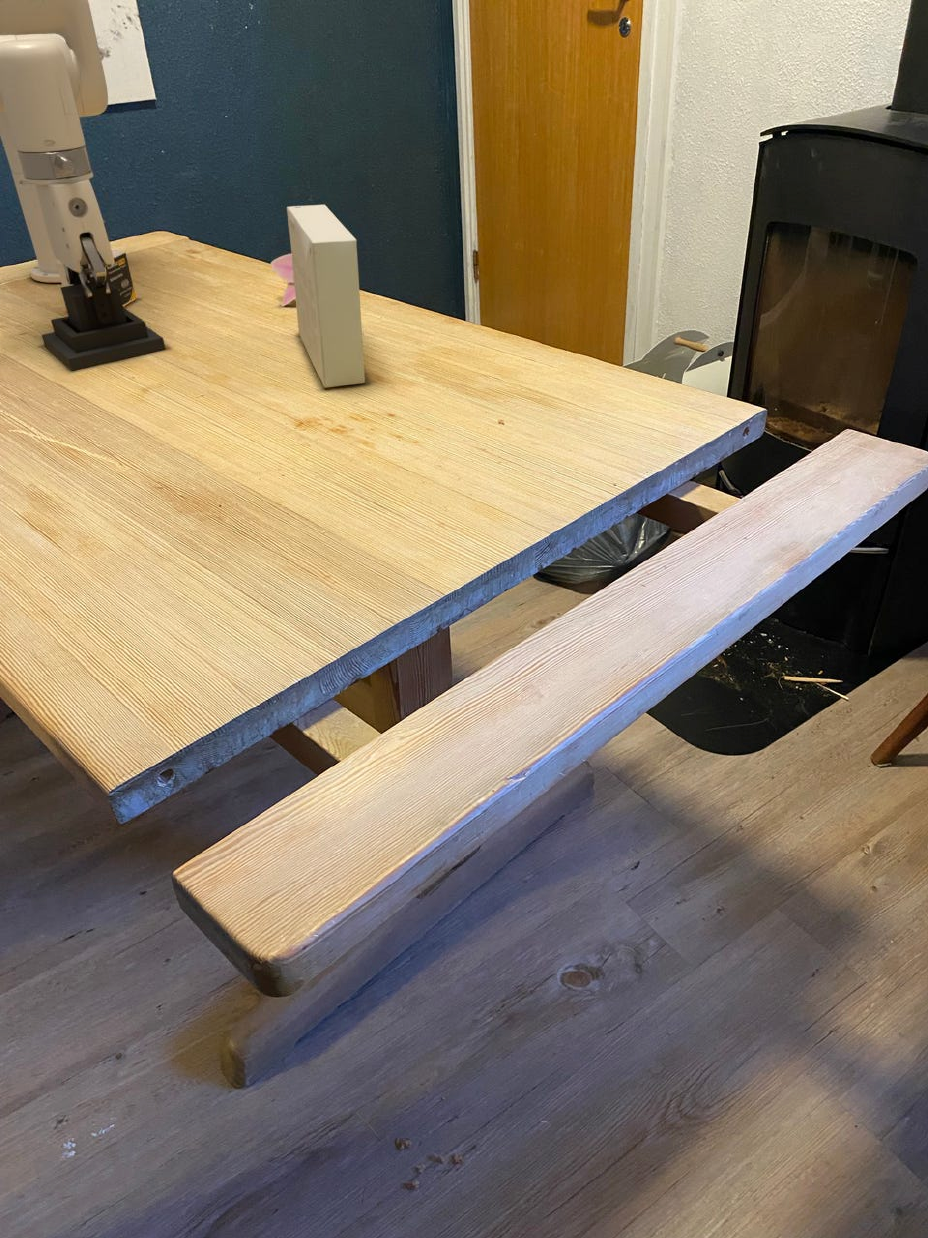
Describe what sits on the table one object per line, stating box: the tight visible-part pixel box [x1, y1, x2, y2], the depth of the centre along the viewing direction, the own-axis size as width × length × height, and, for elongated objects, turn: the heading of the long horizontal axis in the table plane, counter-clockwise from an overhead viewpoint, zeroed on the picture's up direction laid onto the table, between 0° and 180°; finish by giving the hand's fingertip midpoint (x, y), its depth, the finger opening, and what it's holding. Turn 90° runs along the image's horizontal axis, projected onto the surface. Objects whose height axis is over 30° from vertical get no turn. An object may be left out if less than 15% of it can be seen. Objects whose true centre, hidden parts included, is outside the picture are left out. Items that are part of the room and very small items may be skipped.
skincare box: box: [286, 204, 366, 388], centre depth 107 cm, size 21×6×16 cm, turn 17°
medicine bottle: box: [56, 219, 137, 308], centre depth 130 cm, size 7×7×12 cm
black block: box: [60, 282, 127, 333], centre depth 115 cm, size 6×6×4 cm
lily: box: [269, 253, 296, 307], centre depth 129 cm, size 12×12×10 cm
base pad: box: [41, 307, 166, 372], centre depth 117 cm, size 12×12×4 cm
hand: (97, 319), depth 116 cm, fingers closed on black block, 5 cm apart
